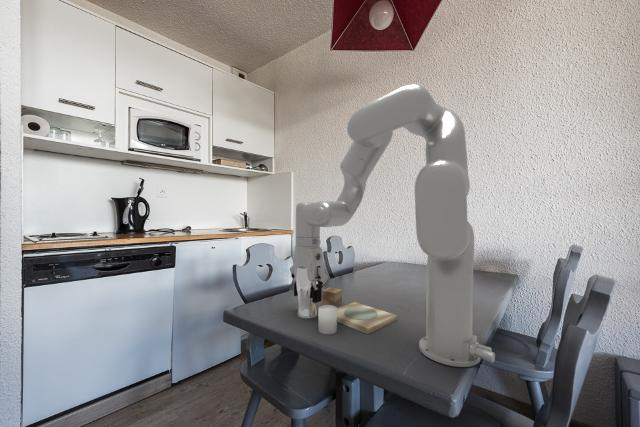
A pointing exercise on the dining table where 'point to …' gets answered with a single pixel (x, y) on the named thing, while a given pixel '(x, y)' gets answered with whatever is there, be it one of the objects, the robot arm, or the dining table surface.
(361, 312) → the birch board
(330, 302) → the walnut block
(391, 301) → the dining table surface
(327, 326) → the white short cylinder
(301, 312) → the beer glass
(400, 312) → the dining table surface
